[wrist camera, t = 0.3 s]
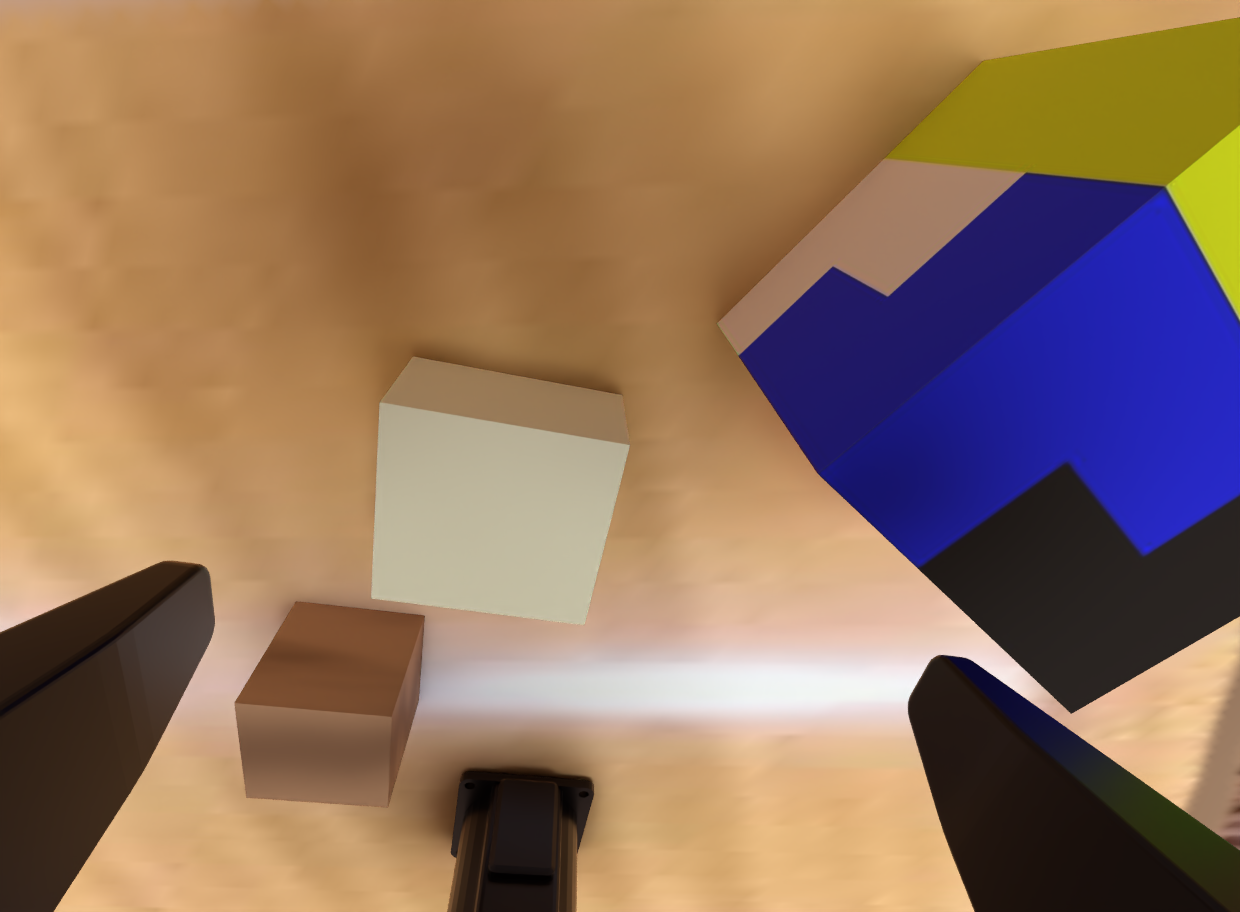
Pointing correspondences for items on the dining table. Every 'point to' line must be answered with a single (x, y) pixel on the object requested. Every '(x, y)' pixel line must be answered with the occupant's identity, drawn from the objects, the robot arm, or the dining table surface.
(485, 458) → the base block
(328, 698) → the walnut cube
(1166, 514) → the puzzle toy
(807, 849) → the dining table surface
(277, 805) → the dining table surface
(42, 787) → the robot arm
